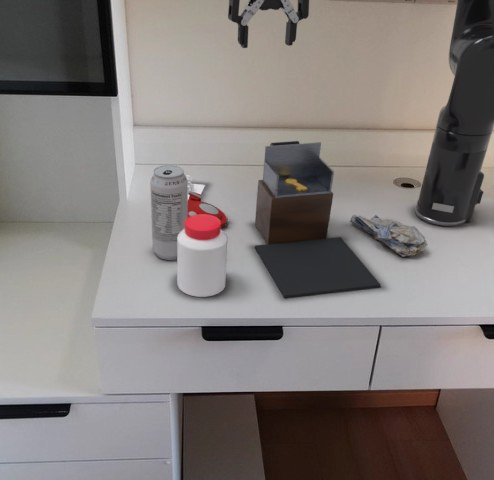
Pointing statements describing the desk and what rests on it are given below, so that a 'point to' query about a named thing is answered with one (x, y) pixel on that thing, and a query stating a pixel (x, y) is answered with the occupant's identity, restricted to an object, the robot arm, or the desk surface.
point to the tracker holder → (203, 208)
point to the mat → (315, 267)
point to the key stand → (292, 216)
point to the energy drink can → (168, 209)
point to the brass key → (295, 184)
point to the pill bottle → (201, 256)
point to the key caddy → (296, 169)
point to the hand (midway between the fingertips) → (266, 46)
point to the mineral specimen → (393, 234)
